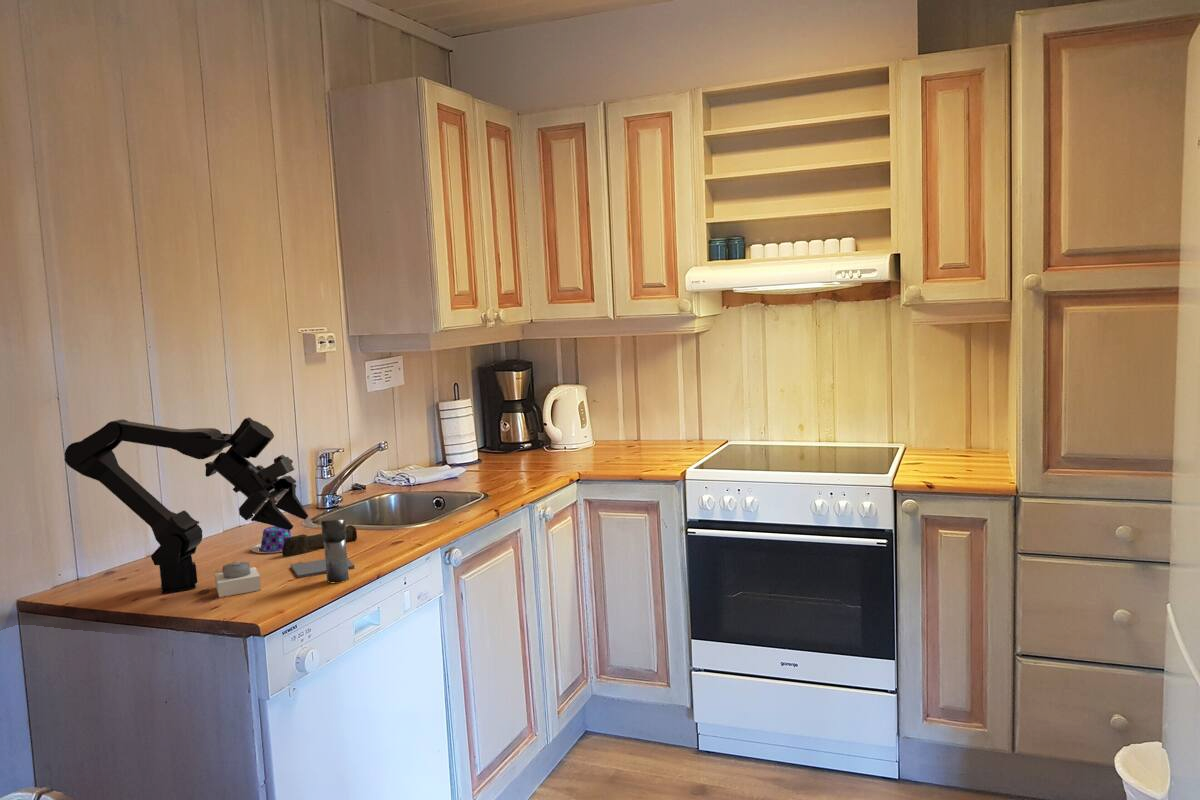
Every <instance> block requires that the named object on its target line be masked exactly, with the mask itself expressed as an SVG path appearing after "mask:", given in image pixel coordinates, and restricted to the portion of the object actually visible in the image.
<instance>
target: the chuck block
mask: <svg viewBox="0 0 1200 800" xmlns="http://www.w3.org/2000/svg"><path fill="white" fill-rule="evenodd" d="M214 579H215V580H214V581H215V588H216V592H217V594H218V597H219V598H224V596H225V597H229V596H235V595H241V594H247V593H252V592H256V591H257V592H258V591H261V590H262V583H261V576H260V574H259V572H258V569H257V568H256V567H255V566H253V567H251V565H250V562H248V561H233V562H231V563H227V564H225V565H223V566H222V572H217V573H214Z"/></svg>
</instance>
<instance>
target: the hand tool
mask: <svg viewBox="0 0 1200 800" xmlns="http://www.w3.org/2000/svg"><path fill="white" fill-rule="evenodd" d="M357 534H358V531H357V529H356V527H355V526H354V525H352V524H350V525H347V526H346V542H349V541H353V542H356V541H357V539H358V535H357ZM323 547H324V541H323V537H322V532H321V533H317V534H313V535H312V534H311V535H307V534H299V535H294V536H293V535H292V537H289V538H287V539H286V540H285V542H284V545H283V548H282V552H281V553H282V557H294V556H299V555H303V554H307V553H308V552H309V551H311V550H316V549H318V548H323Z"/></svg>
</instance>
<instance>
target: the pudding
mask: <svg viewBox="0 0 1200 800" xmlns="http://www.w3.org/2000/svg"><path fill="white" fill-rule="evenodd" d="M292 536H293V535H292V533H291V530H287V529H283V528H280V527H276V526H273V525H271V526H269V527H266V528H264V529H263V531H262V536H261V543H258V544H257V545H254V546H253V547H251V551H252V552H254V553H259V554H260V553H261V554H273V553H274V554H275V553H280V552H281V553H282V548H283V545H284V542H285V540H286V539H287V538H289V537H292ZM260 547H261V548H260ZM258 548H260V550H259V551H260V552H259V551H258ZM261 551H265V552H261ZM275 551H277V552H275Z"/></svg>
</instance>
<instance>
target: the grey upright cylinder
mask: <svg viewBox="0 0 1200 800" xmlns="http://www.w3.org/2000/svg"><path fill="white" fill-rule="evenodd" d="M320 523H321V524H320V525H321V533H322V537H323V541H324V549H323V550H324V556H325V557H324V559H325V561H326V572H327V573H326V581H329V582H341V583H343V582H342V581H345V582H347V581H349V580H348V579H350V575H349V569H348V562H347V558H348V553H347V541H346V527H347V526H346V518H345V517H343V516H335V517H334V516H331V517H328V518H324V519H322V520H321V521H320ZM346 580H347V581H346Z"/></svg>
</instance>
